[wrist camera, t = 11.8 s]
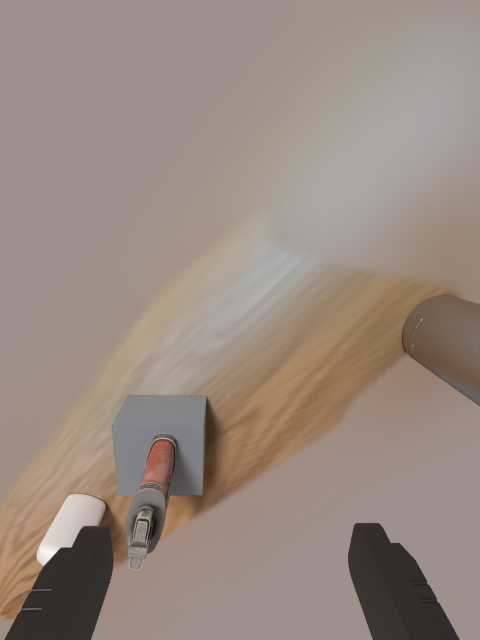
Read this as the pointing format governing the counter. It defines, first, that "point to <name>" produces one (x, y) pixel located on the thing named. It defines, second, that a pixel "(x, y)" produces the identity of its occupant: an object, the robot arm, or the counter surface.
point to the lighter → (151, 500)
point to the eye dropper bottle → (70, 524)
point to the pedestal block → (150, 420)
